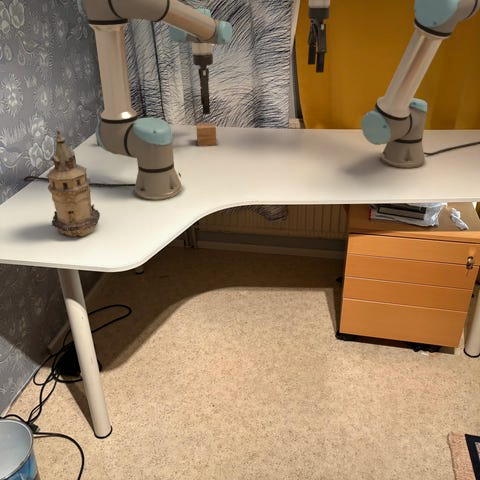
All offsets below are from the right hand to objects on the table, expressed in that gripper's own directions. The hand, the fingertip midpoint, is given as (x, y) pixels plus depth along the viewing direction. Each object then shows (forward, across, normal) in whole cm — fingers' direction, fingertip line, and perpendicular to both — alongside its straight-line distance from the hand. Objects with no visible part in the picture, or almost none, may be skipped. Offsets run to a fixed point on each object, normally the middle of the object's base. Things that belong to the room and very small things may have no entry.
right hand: (315, 68), depth 200 cm
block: (+31, +9, +41) cm, 52 cm away
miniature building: (+30, -60, +82) cm, 106 cm away
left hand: (+17, +10, +41) cm, 45 cm away
